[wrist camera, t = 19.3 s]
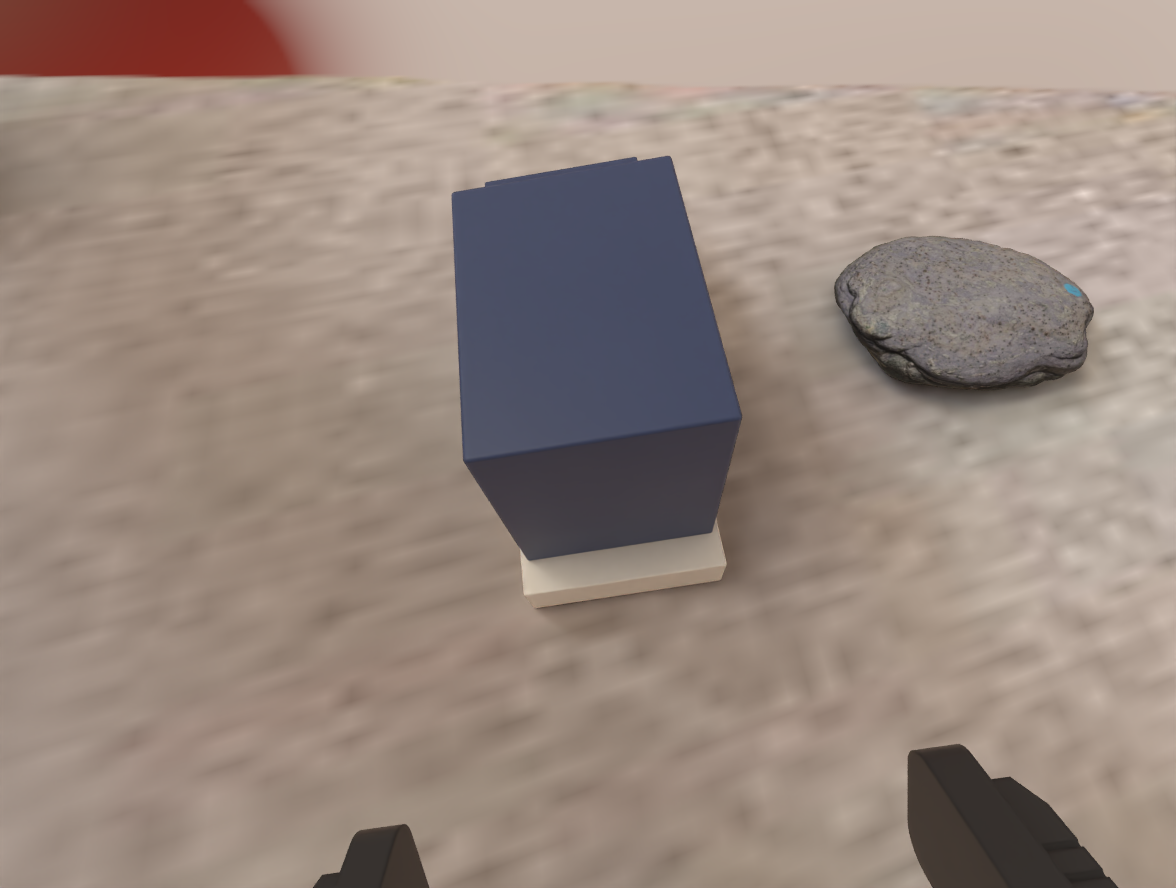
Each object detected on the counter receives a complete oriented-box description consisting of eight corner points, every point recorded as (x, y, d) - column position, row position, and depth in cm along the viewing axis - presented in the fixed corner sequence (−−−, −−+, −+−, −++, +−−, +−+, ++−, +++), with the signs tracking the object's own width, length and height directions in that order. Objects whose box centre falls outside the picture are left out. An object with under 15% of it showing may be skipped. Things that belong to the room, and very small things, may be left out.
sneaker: (721, 580, 20) (767, 462, 12) (533, 609, 20) (453, 511, 12) (646, 248, 26) (643, 24, 18) (503, 272, 26) (437, 60, 18)
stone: (849, 235, 26) (865, 190, 24) (1079, 284, 23) (1117, 240, 21) (806, 369, 23) (820, 332, 21) (1060, 438, 21) (1102, 404, 19)
